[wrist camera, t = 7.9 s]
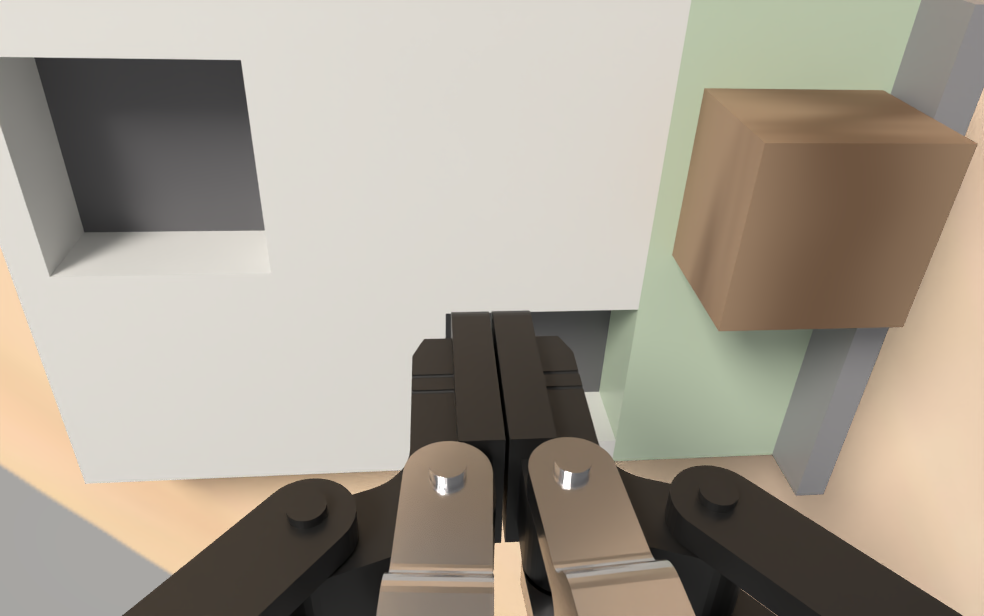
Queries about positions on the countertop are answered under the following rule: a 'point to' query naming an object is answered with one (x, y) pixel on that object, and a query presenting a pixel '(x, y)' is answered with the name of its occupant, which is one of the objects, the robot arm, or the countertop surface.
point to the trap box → (412, 215)
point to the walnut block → (814, 207)
